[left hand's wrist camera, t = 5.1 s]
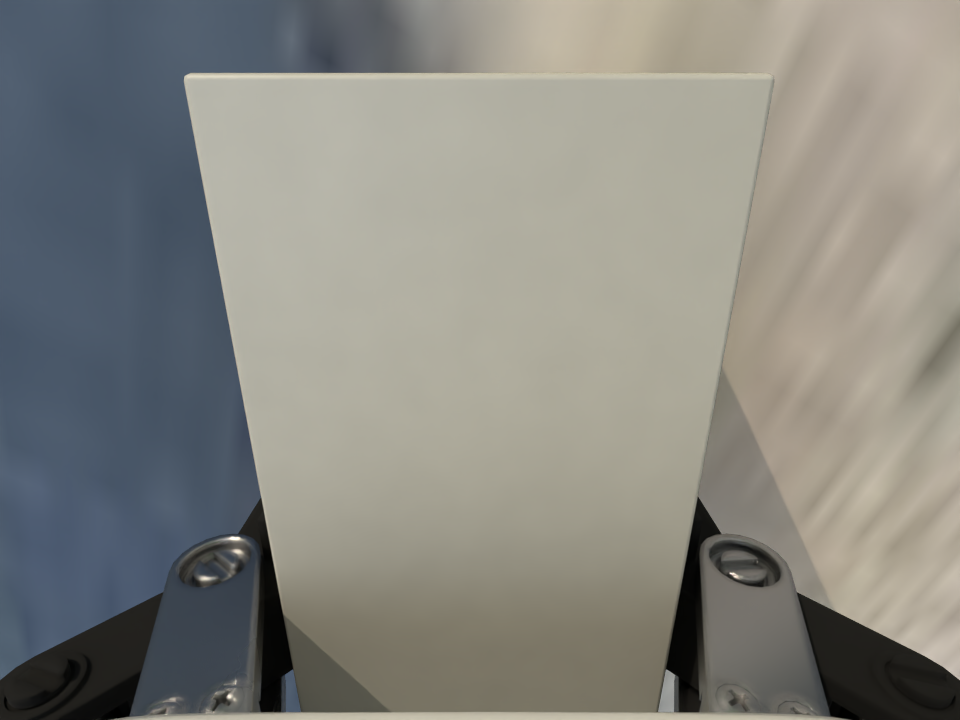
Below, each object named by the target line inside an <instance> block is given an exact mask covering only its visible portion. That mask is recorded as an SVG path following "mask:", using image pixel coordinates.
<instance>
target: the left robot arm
mask: <svg viewBox="0 0 960 720" xmlns="http://www.w3.org/2000/svg"><path fill="white" fill-rule="evenodd" d="M292 669H293V665H292V660H291V654H290V649H289V643H288V638H287V633H286V627H285V622H284V617H283V611H282V606H281V600H280V595H279V590H278V584H277V579H276V573H275V568H274V563H273V557H272V552H271V547H270V541H269V536H268V530H267V525H266V520H265V514H264V509H263V504H262V498H261V499H260V500H259V502H258V503H257V505H256V506H255V508H254V510H253V511H252V513H251V514H250V516H249V518H248V519H247V521H246V522H245V524H244V525H243V527H242V529H241V530H240V532H239V533H238V534H227V535H219V536H216V537H212V538H209V539H206V540H204V541H202V542H200V543H198V544H195V545H193V546H192V547H191V548H189V549H188V550H186V551H185V552H184V553H182V554H181V555H180V556H179V557H178V559H177V560H176V561H175V562H174V563H173V565H172V567H171V569H170V571H169V574H168V577H167V581H166V585H165V588H164V592H163V593H161V594H159V595H157V596H155V597H153V598H151V599H149V600H147V601H145V602H143V603H141V604H139V605H137V606H135V607H133V608H131V609H129V610H127V611H125V612H123V613H121V614H119V615H117V616H115V617H113V618H111V619H109V620H107V621H105V622H103V623H101V624H99V625H97V626H95V627H93V628H91V629H89V630H87V631H85V632H83V633H81V634H79V635H77V636H75V637H73V638H71V639H69V640H67V641H65V642H63V643H61V644H59V645H57V646H55V647H53V648H51V649H49V650H47V651H45V652H43V653H41V654H39V655H37V656H35V657H33V658H31V659H30V660H28V661H26V662H25V663H23V664H21V665H20V666H18V667H16V668H15V669H14V670H12V671H11V672H10V673H9V674H7V675H6V676H5V677H4V678H2V679H1V680H0V720H960V680H959V679H957V678H956V677H955V676H953V675H952V674H951V673H950V672H948V671H947V670H946V669H945V668H943V667H942V666H940V665H939V664H937V663H935V662H933V661H932V660H930V659H928V658H927V657H925V656H923V655H921V654H919V653H917V652H915V651H913V650H911V649H909V648H907V647H905V646H903V645H901V644H899V643H897V642H895V641H893V640H891V639H889V638H887V637H885V636H883V635H881V634H879V633H877V632H875V631H873V630H871V629H869V628H867V627H865V626H863V625H861V624H859V623H857V622H855V621H853V620H851V619H849V618H847V617H845V616H843V615H841V614H839V613H837V612H835V611H833V610H831V609H829V608H827V607H825V606H823V605H821V604H819V603H817V602H815V601H813V600H811V599H809V598H807V597H805V596H803V595H801V594H799V593H797V592H796V588H795V585H794V581H793V577H792V574H791V571H790V569H789V567H788V565H787V563H786V562H785V561H784V560H783V559H782V557H781V556H780V555H779V554H778V553H776V552H775V551H774V550H772V549H771V548H769V547H768V546H767V545H765V544H762V543H760V542H758V541H756V540H754V539H751V538H748V537H744V536H741V535H733V534H721V532H720V531H719V529H718V528H717V526H716V524H715V523H714V521H713V520H712V518H711V517H710V515H709V513H708V512H707V510H706V509H705V507H704V505H703V504H702V502H701V501H700V499H699V497H697V503H696V508H695V514H694V519H693V524H692V530H691V535H690V541H689V546H688V552H687V557H686V562H685V568H684V573H683V579H682V584H681V589H680V595H679V600H678V606H677V611H676V616H675V622H674V627H673V633H672V638H671V643H670V649H669V654H668V660H667V665H666V669H667V670H669V671H670V672H672V673H673V674H675V680H674V712H286V680H285V674H286V673H288V672H289V671H291V670H292Z"/></svg>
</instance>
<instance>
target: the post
mask: <svg viewBox="0 0 960 720" xmlns="http://www.w3.org/2000/svg"><path fill="white" fill-rule="evenodd" d="M184 84H185V89H186V95H187V100H188V105H189V111H190V116H191V121H192V127H193V132H194V138H195V143H196V148H197V154H198V159H199V164H200V170H201V175H202V181H203V186H204V191H205V197H206V202H207V208H208V213H209V218H210V224H211V229H212V234H213V240H214V245H215V251H216V256H217V261H218V267H219V272H220V277H221V283H222V288H223V294H224V299H225V304H226V310H227V315H228V321H229V326H230V331H231V337H232V342H233V347H234V353H235V358H236V364H237V369H238V374H239V380H240V385H241V390H242V396H243V401H244V407H245V412H246V417H247V423H248V428H249V434H250V439H251V444H252V450H253V455H254V460H255V466H256V471H257V477H258V482H259V487H260V493H261V498H262V504H263V509H264V514H265V520H266V525H267V530H268V536H269V541H270V547H271V552H272V557H273V563H274V568H275V573H276V579H277V584H278V590H279V595H280V600H281V606H282V611H283V617H284V622H285V627H286V633H287V638H288V643H289V649H290V654H291V660H292V665H293V670H294V676H295V681H296V686H297V692H298V697H299V703H300V708H301V712H658V708H659V703H660V698H661V692H662V687H663V681H664V676H665V671H666V665H667V660H668V654H669V649H670V643H671V638H672V633H673V627H674V622H675V616H676V611H677V606H678V600H679V595H680V589H681V584H682V579H683V573H684V568H685V562H686V557H687V552H688V546H689V541H690V535H691V530H692V524H693V519H694V514H695V508H696V503H697V497H698V492H699V487H700V481H701V476H702V470H703V465H704V460H705V454H706V449H707V443H708V438H709V433H710V427H711V422H712V416H713V411H714V405H715V400H716V395H717V389H718V384H719V378H720V373H721V368H722V362H723V357H724V351H725V346H726V341H727V335H728V330H729V324H730V319H731V313H732V308H733V303H734V297H735V292H736V286H737V281H738V276H739V270H740V265H741V259H742V254H743V249H744V243H745V238H746V232H747V227H748V222H749V216H750V211H751V205H752V200H753V194H754V189H755V184H756V178H757V173H758V167H759V162H760V157H761V151H762V146H763V140H764V135H765V130H766V124H767V119H768V113H769V108H770V103H771V97H772V92H773V86H774V76H773V75H771V74H769V73H190V74H188V75H186V76H185V77H184Z"/></svg>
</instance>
